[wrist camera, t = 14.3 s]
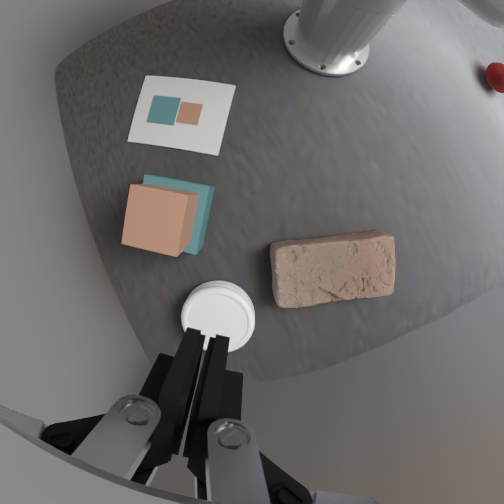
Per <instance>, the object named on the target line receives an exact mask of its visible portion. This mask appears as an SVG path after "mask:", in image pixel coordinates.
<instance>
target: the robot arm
mask: <svg viewBox="0 0 504 504" xmlns="http://www.w3.org/2000/svg"><path fill="white" fill-rule="evenodd" d="M406 1H407V0H304V1H303V4H302V8H301V9H299V10H297V11H295V12H294V13H293V14H292V15H290V17H289V18H288V19H287V21H286V23H285V25H284V30H283V39H284V43H285V46H286V48H287V50H288V52H289V53H290V54H291V56H292V57H293V58H294V59H295V60H296V61H297V62H298V63H299V64H301V65H302V66H304V67H305V68H307V69H309V70H311V71H313V72H315V73H318V74H321V75H326V76H333V77H340V76H347V75H350V74H353V73H355V72H356V71H358V70H359V69H360V68H361V67H362V66H363V65H364V64H365V63H366V61H367V59H368V57H369V52H370V46H369V42H370V41H371V40H372V39H373V37H374V36H375V35H376V34H377V33H378V32H379V31H380V30H381V29H382V27H383V26H384V25H385V24H386V23H387V22H388V21H389V20H390V19H391V18H392V17H393V15H394V14H395V13H396V12H397V11H398V10H399V9H400V8H401V7H402V6H403V5H404V4H405V2H406ZM458 1H459V2H460V3H462V4H463V5H464V6H465V7H467V8H468V9H469V10H470V11H472V12H473V13H474V14H475V15H477V16H478V17H479V18H481V19H482V20H483V21H485V22H487V23H488V24H491V25H493V26H496V27H501V28H504V0H458ZM290 44H292V45H290ZM320 68H322V69H323V70H321V69H320ZM205 336H206V335H202V334H201V330H197V329H193V328H189V327H187V329H186V331H185V334H184V336H183V338H182V341H181V343H180V345H179V348H178V350H177V353H176V355H175V357H173V356H169V355H166V354H162V353H160V354H159V355H158V357H157V359H156V361H155V363H154V365H153V367H152V369H151V371H150V373H149V375H148V377H147V380H146V381H145V383H144V386H143V388H142V390H141V392H140V394H139V395H127V396H124V397H121V398H120V399H119V400H118V401H116V403H115V404H114V405H113V406H112V407H111V408H110V410H109V411H108V412H107V413H106V414H103V415H99V416H93V417H89V418H83V419H78V420H73V421H67V422H61V423H55V424H52V425H49V426H48V425H45V424H44V422H43V421H41V420H38V419H35V418H32V417H30V416H27V415H24V414H22V413H19V412H17V411H14V410H11V409H9V408H7V407H4V406H2V405H0V504H380V503H379V502H378V501H377V500H375V499H374V498H371V497H365V496H354V495H345V494H338V493H331V492H324V491H318V490H317V491H316V492H315V493H314V492H309V491H308V490H307V489H306V488H305V487H304V486H303V485H301V484H300V483H299V482H297V481H296V480H295V479H293V478H292V477H291V476H289V475H288V474H287V473H285V472H284V471H283V470H281V469H280V468H279V467H278V466H277V465H275V464H274V463H273V462H272V461H270V460H269V459H268V458H267V457H266V456H264V455H263V454H262V453H261V452H260V451H259V449H258V445H257V440H256V436H255V434H254V431H253V430H252V429H251V428H250V426H248V425H247V424H245V423H244V422H241V405H242V404H241V403H242V386H243V373H239V372H234V371H229V370H225V369H226V362H227V355H228V348H229V341H230V337H226V336H222V335H217V334H216V338H214V337H210V338H209V342H208V346H207V350H206V353H205V357H204V361H203V365H202V369H201V373H200V376H199V380H198V384H197V388H196V392H195V396H194V400H193V405H192V409H191V415H190V420H189V425H188V430H187V436H186V441H185V448H184V453H183V456H184V457H188V458H189V460H188V465H187V467H188V468H189V470H190V471H191V472H192V473H193V474H194V475H195V476H196V477H195V498H192V497H187V496H183V495H179V494H174V493H170V492H167V491H163V490H159V489H155V488H152V487H149V484H150V483H151V481H152V479H153V477H154V475H155V473H156V471H157V468H158V466H159V465H162V464H165V463H167V462H168V461H171V457H172V454H176V455H178V453H179V449H180V445H181V441H182V437H183V433H184V429H185V425H186V421H187V418H188V414H189V410H190V406H191V402H192V398H193V394H194V390H195V385H196V381H197V376H198V371H199V366H200V361H201V356H202V351H203V346H204V341H205Z"/></svg>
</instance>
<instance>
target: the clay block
mask: <svg viewBox="0 0 504 504" xmlns="http://www.w3.org/2000/svg"><path fill="white" fill-rule="evenodd" d="M198 199H199V193H194V192H189V191H184V190H179V189H174V188H169V187H164V186H158V185H153V184H131V185H130V190H129V196H128V202H127V208H126V214H125V221H124V228H123V236H122V244H125V245H129V246H133V247H137V248H141V249H145V250H149V251H153V252H158V253H162V254H166V255H170V256H174V257H177V256H178V255H179V254H180V253H181V252H183V251H184V250H185V249H186V248H187V247H188V246H189V244H190V239H191V234H192V229H193V224H194V218H195V214H196V209H197V204H198Z"/></svg>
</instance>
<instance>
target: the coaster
mask: <svg viewBox="0 0 504 504" xmlns="http://www.w3.org/2000/svg"><path fill="white" fill-rule="evenodd" d="M181 322H182V327H183V330H184V332H185V331H186V329H187V327H189V328H193V329H197V330H201V334H202V335H206V336H205V341H204V346H203V350H207V346H208V342H209V338H210V337H214V338H216V334H217V335H222V336H226V337H230V341H229V348H228V352H231V351H234V350H236V349H238V348H240V347H242V346H243V345H244V344H245V343H246V342H247V341H248V340H249V339H250V337H251V335H252V333H253V330H254V326H255V311H254V306H253V303H252V301H251V299H250V297H249V296H248V295H247V294H246V292H245V291H244V290H242V289H241V288H240V287H238V286H237V285H235V284H233V283H230V282H227V281H219V280H217V281H209V282H206V283H203V284H201V285H199V286H197V287H196V288H195V289H194V290H193V291H192V292H191V293H190V294H189V296H188V298H187V299H186V301H185V303H184V305H183V308H182V312H181Z"/></svg>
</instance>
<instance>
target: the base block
mask: <svg viewBox="0 0 504 504" xmlns="http://www.w3.org/2000/svg"><path fill="white" fill-rule="evenodd" d="M143 184H153V185H158V186H164V187H169V188H174V189H179V190H184V191H189V192H194V193H199V199H198V204H197V209H196V214H195V218H194V224H193V229H192V234H191V239H190V244H189V246H188V247H187V248H186V249H185V250H184V251H183V252H186V253H190V254H195V255H196V254H197V253H198V252H199V250H200V249H201V248H202V247H203V243H204V238H205V233H206V228H207V223H208V218H209V213H210V208H211V204H212V199H213V194H214V190H215V187H214V186H210V185H205V184H200V183H194V182H189V181H184V180H179V179H173V178H168V177H162V176H156V175H145V174H144V179H143Z"/></svg>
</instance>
